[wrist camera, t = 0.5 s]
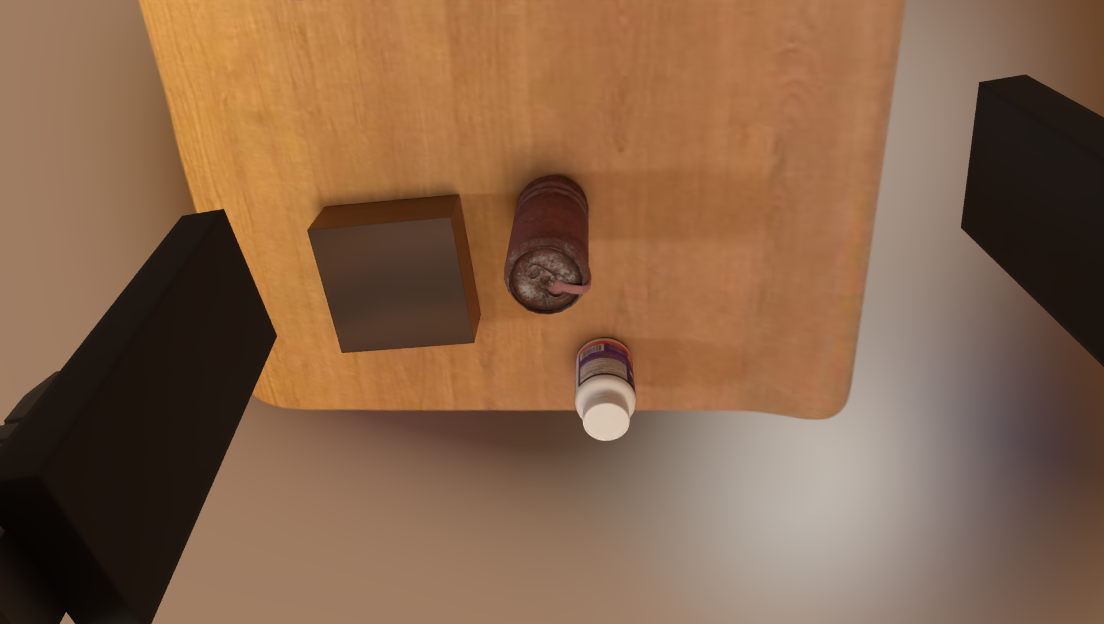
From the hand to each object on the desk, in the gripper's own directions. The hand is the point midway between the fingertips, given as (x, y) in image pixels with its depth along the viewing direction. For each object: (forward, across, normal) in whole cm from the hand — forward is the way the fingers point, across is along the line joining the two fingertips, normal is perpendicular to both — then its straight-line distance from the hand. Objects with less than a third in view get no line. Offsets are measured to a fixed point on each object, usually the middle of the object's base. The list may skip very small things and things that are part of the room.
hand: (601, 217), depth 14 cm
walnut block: (+52, -17, -27) cm, 60 cm away
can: (+51, -2, -24) cm, 56 cm away
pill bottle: (+50, 0, -40) cm, 64 cm away
